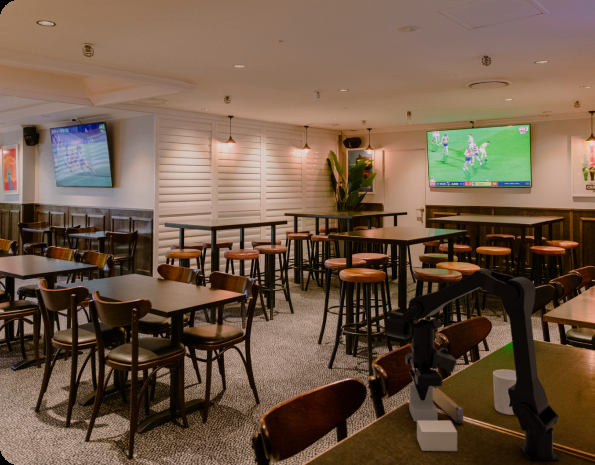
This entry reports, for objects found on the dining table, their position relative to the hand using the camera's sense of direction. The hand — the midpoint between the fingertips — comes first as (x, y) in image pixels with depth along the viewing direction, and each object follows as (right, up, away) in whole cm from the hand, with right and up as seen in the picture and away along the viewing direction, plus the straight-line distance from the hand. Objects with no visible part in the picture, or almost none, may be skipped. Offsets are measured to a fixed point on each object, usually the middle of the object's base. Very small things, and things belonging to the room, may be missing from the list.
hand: (422, 400), depth 136 cm
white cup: (+24, -4, +4) cm, 25 cm away
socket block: (-1, -5, -15) cm, 16 cm away
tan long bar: (+7, -4, +3) cm, 9 cm away
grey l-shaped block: (0, -4, 0) cm, 4 cm away
